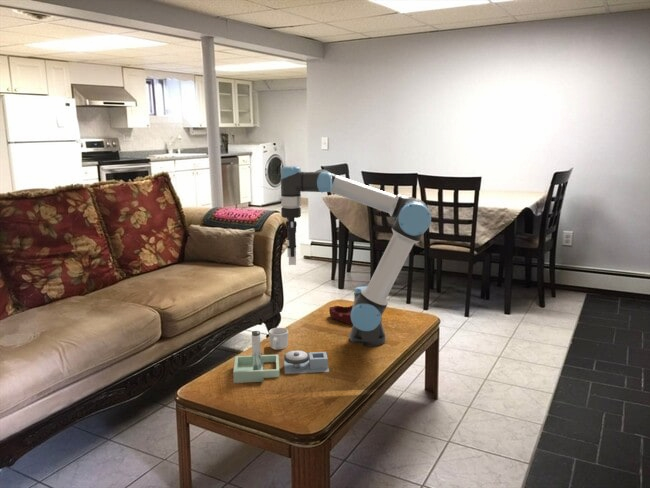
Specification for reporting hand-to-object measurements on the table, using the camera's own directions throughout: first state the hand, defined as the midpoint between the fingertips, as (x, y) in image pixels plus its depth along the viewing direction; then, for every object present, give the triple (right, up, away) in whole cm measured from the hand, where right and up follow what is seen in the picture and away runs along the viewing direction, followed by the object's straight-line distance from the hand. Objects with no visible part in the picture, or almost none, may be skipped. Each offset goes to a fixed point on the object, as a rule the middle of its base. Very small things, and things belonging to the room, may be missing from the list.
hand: (291, 260), depth 212 cm
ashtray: (+25, -30, +41) cm, 57 cm away
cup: (-6, -37, +5) cm, 37 cm away
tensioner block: (+6, -40, -13) cm, 42 cm away
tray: (-12, -41, -16) cm, 45 cm away
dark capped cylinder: (-12, -40, -16) cm, 44 cm away
